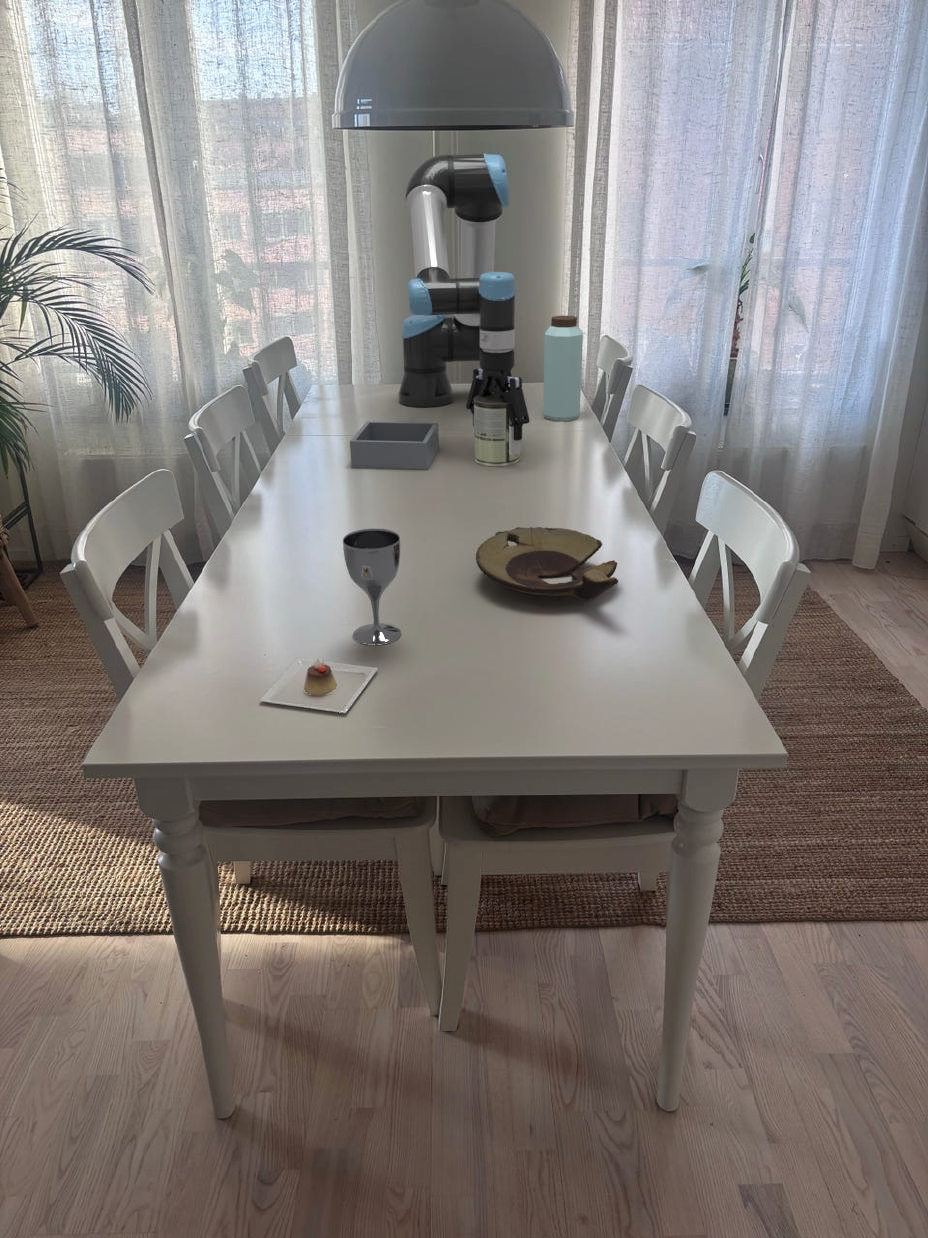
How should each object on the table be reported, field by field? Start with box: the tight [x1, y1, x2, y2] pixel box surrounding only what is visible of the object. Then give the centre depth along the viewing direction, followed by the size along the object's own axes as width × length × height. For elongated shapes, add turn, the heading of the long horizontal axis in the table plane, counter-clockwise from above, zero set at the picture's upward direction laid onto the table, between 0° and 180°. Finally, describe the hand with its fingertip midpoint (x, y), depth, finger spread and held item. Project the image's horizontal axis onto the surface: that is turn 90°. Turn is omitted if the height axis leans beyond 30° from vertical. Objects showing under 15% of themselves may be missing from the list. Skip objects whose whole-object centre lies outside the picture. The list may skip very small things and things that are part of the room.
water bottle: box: [542, 315, 584, 422], centre depth 248 cm, size 10×10×25 cm
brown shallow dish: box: [475, 526, 619, 601], centre depth 155 cm, size 22×30×8 cm
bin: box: [349, 420, 440, 471], centre depth 222 cm, size 17×17×6 cm
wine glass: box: [342, 528, 402, 646], centre depth 140 cm, size 8×8×15 cm
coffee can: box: [473, 392, 521, 468], centre depth 217 cm, size 10×10×14 cm
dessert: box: [258, 657, 379, 714], centre depth 128 cm, size 12×12×5 cm
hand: (496, 447), depth 219 cm, fingers open, 12 cm apart
